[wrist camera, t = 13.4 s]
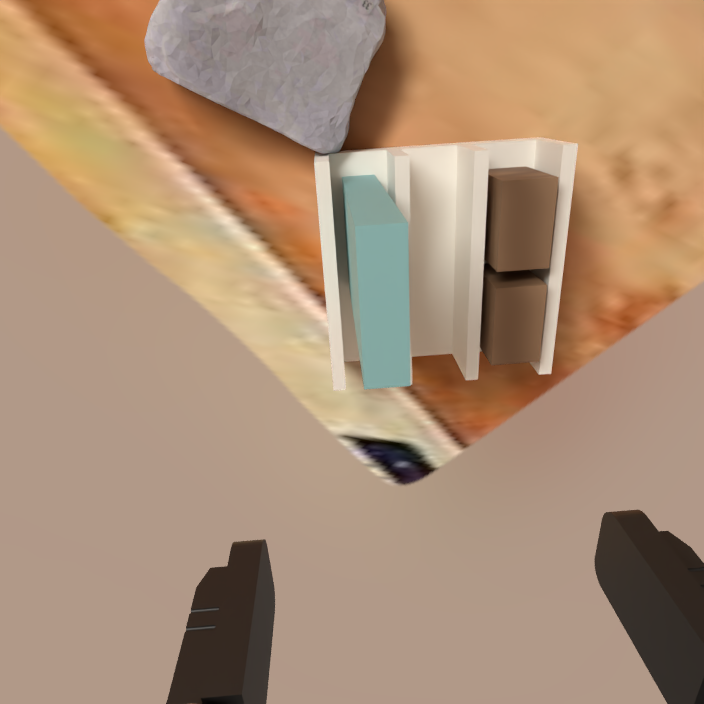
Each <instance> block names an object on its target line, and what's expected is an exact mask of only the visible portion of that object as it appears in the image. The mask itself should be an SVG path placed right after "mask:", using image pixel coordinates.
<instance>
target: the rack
mask: <svg viewBox="0 0 704 704" xmlns="http://www.w3.org/2000/svg"><path fill="white" fill-rule="evenodd" d="M577 149H578V144H576V143H570V142H565V141H559V140H553V139H547V138H542V137H536V138H521V139H507V140H492V141H477V142H463V143H448V144H433V145H419V146H404V147H389V148H375V149H360V150H345V151H339V152H335V153H325V154H323V153H319V152H316V153H315V158H314V167H315V179H316V190H317V202H318V214H319V225H320V237H321V249H322V260H323V272H324V284H325V295H326V307H327V318H328V330H329V342H330V353H331V365H332V377H333V388H334V391H336V390H346V382H345V369H344V362H350V361H360V357H359V350H358V344H357V337H356V330H355V323H354V316H353V310H352V303H351V296H350V289H349V278H348V263H347V248H346V232H345V217H344V202H343V187H342V177H345V176H360V175H375V176H376V177H377V179H378V180H379V182H380V183H381V185H382V186H383V187H384V189H385V190H386V192H387V193H388V194H389V196H390V197H391V199H392V200H393V202H394V203H395V204H396V206H397V207H398V209H399V210H400V212H401V213H402V214H403V216H404V217H405V219H406V220H407V222H408V246H409V316H410V385H412V357H416V356H429V355H442V354H453V356H454V358H455V360H456V362H457V364H458V366H459V368H460V370H461V372H462V374H463V376H464V378H465V380H477V379H478V371H479V352H481V351H482V350H481V348H480V331H481V311H482V290H483V270H484V264H486V263H488V262H487V261H485V260H484V250H485V230H486V210H487V190H488V170H489V169H495V168H509V167H524V166H526V167H529V168H532V169H535V170H539V171H542V172H545V173H548V174H551V175H554V176H557V177H559V178H558V188H557V197H556V207H555V216H554V226H553V235H552V245H551V254H550V264H549V268H544V269H531V270H530V271H531V272H532V273H534V274H535V275H536V276H537V277H538V278H540V279H541V280H542V281H543V282H545V283H546V284H547V293H546V302H545V312H544V321H543V331H542V340H541V350H540V359H539V362H529V363H530V364H531V365H532V366H533V368H534V369H535V370H536V371H537V373H538V374H539V375H541V374H551V371H552V362H553V354H554V345H555V337H556V328H557V320H558V311H559V303H560V294H561V286H562V277H563V268H564V260H565V251H566V243H567V234H568V226H569V217H570V209H571V200H572V192H573V183H574V175H575V166H576V157H577Z"/></svg>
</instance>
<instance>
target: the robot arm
mask: <svg viewBox="0 0 704 704" xmlns="http://www.w3.org/2000/svg"><path fill="white" fill-rule="evenodd" d="M595 570H596V575H597V578H598V581H599V584H600V586H601V588H602V590H603V591H604V593H605V595H606V596H607V598H608V600H609V602H610V603H611V605H612V607H613V609H614V610H615V612H616V614H617V616H618V617H619V619H620V621H621V623H622V624H623V626H624V628H625V630H626V631H627V633H628V635H629V637H630V639H631V640H632V642H633V644H634V646H635V647H636V649H637V651H638V653H639V655H640V656H641V658H642V660H643V661H644V663H645V665H646V667H647V668H648V670H649V672H650V674H651V676H652V677H653V679H654V681H655V682H656V684H657V686H658V688H659V690H660V691H661V693H662V695H663V697H664V698H665V700H666V702H667V704H704V563H703V562H702V561H701V559H700V558H699V557H698V556H697V555H696V553H695V552H694V551H693V550H692V548H691V547H690V546H688V545H687V544H685V543H684V542H683V541H681V540H680V539H678V538H677V537H676V536H674V535H673V534H671V533H670V532H669V531H660V532H659V531H658V530H657V529H656V528H655V526H654V525H653V524H652V522H651V521H650V520H649V519H648V517H647V516H646V515H645V514H644V513H643V512H642V511H640V510H629V511H617V512H606V513H605V514H604V515H603V518H602V523H601V528H600V534H599V539H598V544H597V550H596V555H595ZM274 614H275V591H274V582H273V577H272V571H271V565H270V560H269V554H268V548H267V544H266V540H253V541H241V542H234V543H233V544H232V547H231V551H230V556H229V562H228V566H227V567H215V568H210V569H209V571H208V572H207V574H206V575H205V576H204V578H203V579H202V580H201V582H200V583H199V585H198V586H197V588H196V591H195V595H194V599H193V603H192V607H191V614H189V618H188V622H187V626H186V632H185V634H184V638H183V642H182V645H181V650H180V653H179V657H178V661H177V665H176V669H175V673H174V677H173V681H172V684H171V688H170V692H169V696H168V700H167V703H166V704H266V700H267V689H268V678H269V668H270V657H271V646H272V636H273V624H274Z"/></svg>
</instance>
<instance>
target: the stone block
mask: <svg viewBox="0 0 704 704" xmlns="http://www.w3.org/2000/svg"><path fill="white" fill-rule="evenodd" d="M385 25H386V6H385V3H384V0H160V1H159V3H158V5H157V7H156V8H155V10H154V12H153V14H152V16H151V19H150V22H149V25H148V28H147V34H146V37H145V48H146V53H147V58H148V62H149V63H150V64H151V66H152V69H153V70H154V71H155V72H157V73H158V74H159V75H161V76H163V77H166V78H168V79H170V80H172V81H174V82H175V83H177V84H179V85H181V86H183V87H185V88H187V89H189V90H191V91H193V92H195V93H197V94H199V95H201V96H203V97H205V98H207V99H209V100H211V101H213V102H215V103H218V104H220V105H222V106H224V107H226V108H228V109H230V110H233V111H235V112H237V113H239V114H241V115H244V116H246V117H248V118H251V119H253V120H255V121H257V122H259V123H261V124H263V125H265V126H267V127H269V128H271V129H273V130H275V131H277V132H279V133H281V134H283V135H285V136H287V137H288V138H290V139H292V140H293V141H295V142H297V143H299V144H301V145H303V146H306V147H307V148H309V149H312V150H314V151H316V152H319V153H323V154H325V153H335V152H339V151H340V149H341V148H342V145H343V143H344V141H345V139H346V137H347V134H348V131H349V119H350V113H351V111H352V109H353V106H354V101H355V98H356V96H357V94H358V91H359V88H360V86H361V83H362V80H363V77H364V75H365V73H366V71H367V69H368V68H369V65H370V62H371V60H372V58H373V57H374V55H375V53H376V52H377V51H378V49H379V48H380V46H381V44H382V42H383V40H384V36H385V32H386V27H385Z"/></svg>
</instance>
